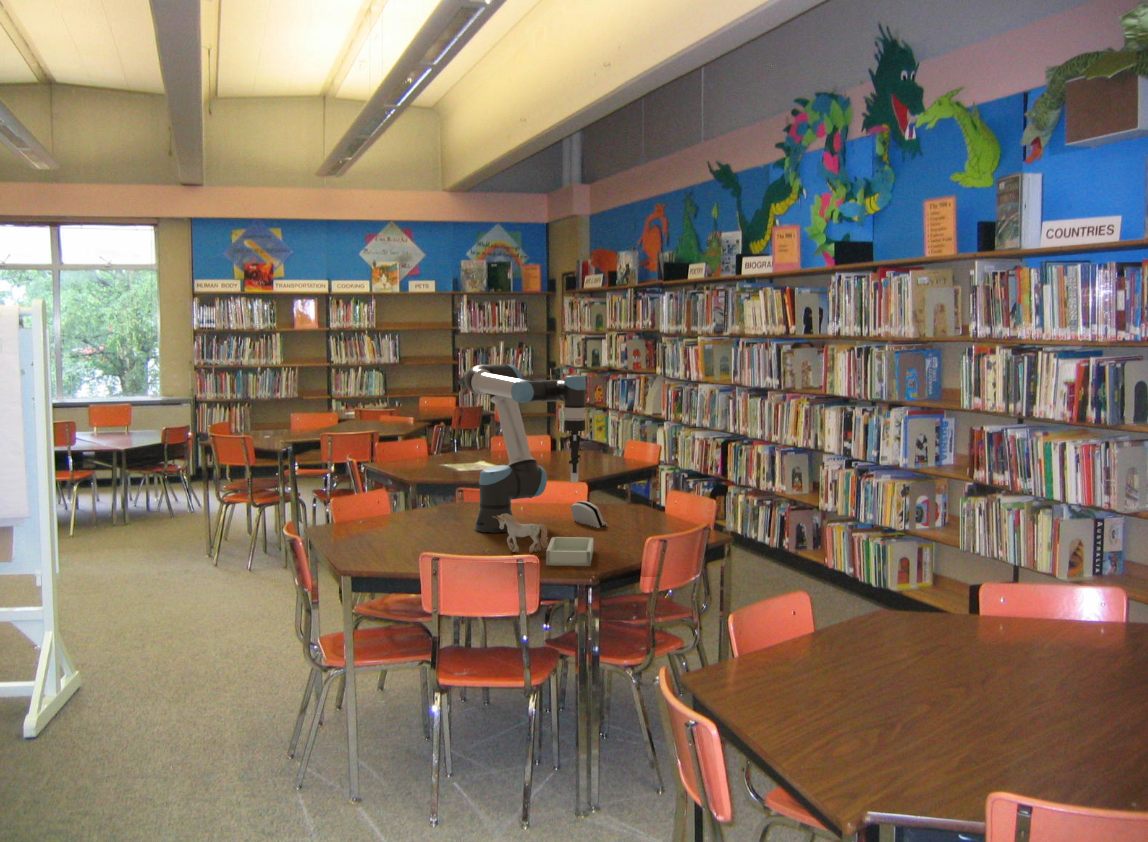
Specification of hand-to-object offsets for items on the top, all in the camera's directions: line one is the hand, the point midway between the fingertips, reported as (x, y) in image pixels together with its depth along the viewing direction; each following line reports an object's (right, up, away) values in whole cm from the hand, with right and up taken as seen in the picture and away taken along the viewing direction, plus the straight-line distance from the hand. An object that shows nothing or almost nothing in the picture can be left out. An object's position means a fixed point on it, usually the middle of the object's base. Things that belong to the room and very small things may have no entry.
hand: (574, 479), depth 344 cm
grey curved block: (+5, -19, +30) cm, 36 cm away
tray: (-1, -24, -27) cm, 36 cm away
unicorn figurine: (-18, -24, -22) cm, 37 cm away
